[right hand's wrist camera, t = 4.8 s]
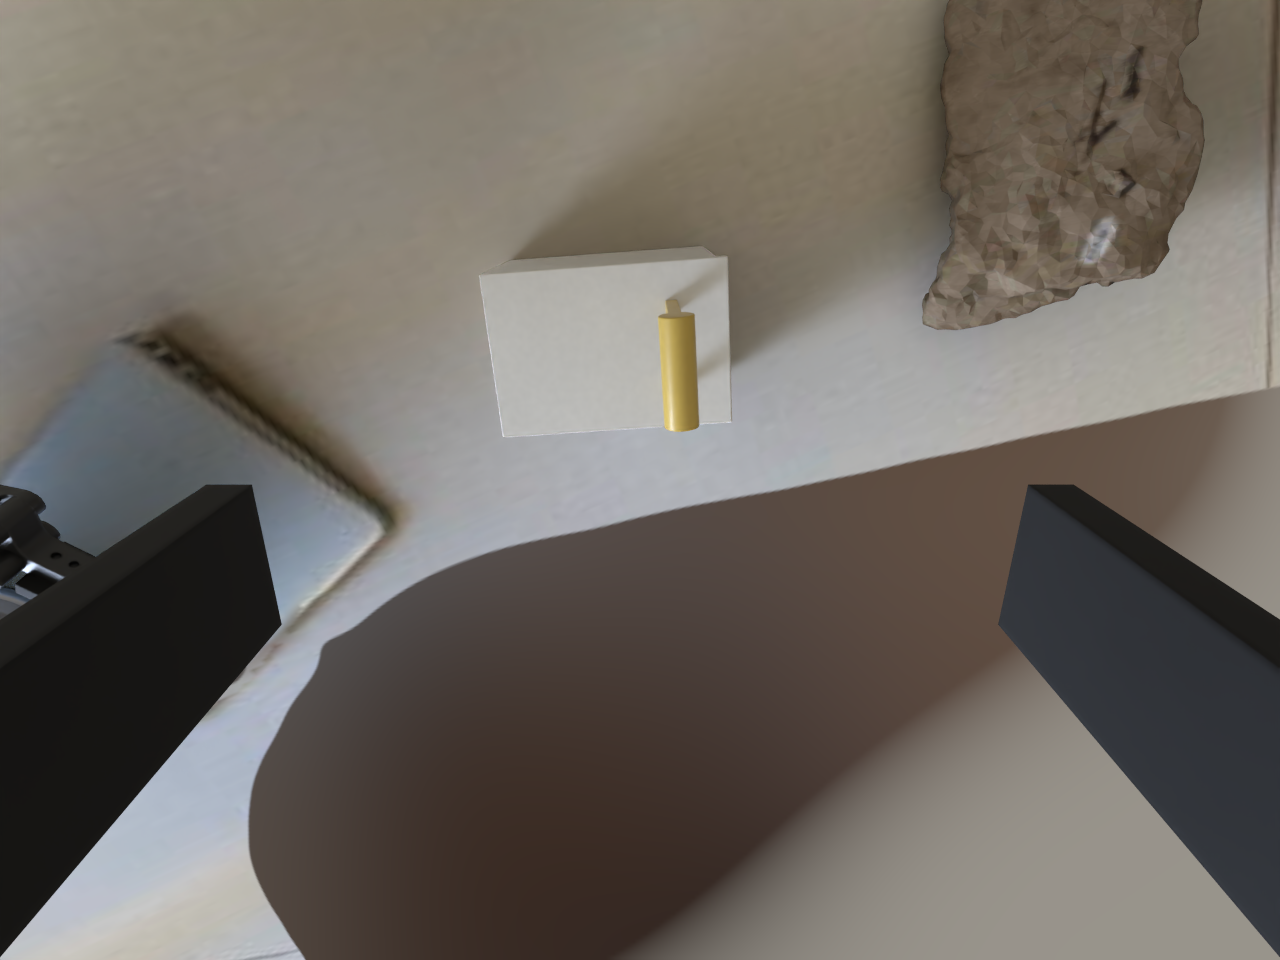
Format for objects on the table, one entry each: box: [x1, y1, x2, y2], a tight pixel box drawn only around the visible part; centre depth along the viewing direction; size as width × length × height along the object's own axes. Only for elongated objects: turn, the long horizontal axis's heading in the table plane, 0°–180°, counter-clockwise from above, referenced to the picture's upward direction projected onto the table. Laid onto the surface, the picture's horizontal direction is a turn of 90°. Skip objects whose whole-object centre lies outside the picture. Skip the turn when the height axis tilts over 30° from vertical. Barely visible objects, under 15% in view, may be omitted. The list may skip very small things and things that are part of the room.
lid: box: [479, 255, 732, 438], centre depth 39 cm, size 14×10×8 cm
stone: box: [922, 0, 1204, 330], centre depth 45 cm, size 21×15×6 cm
